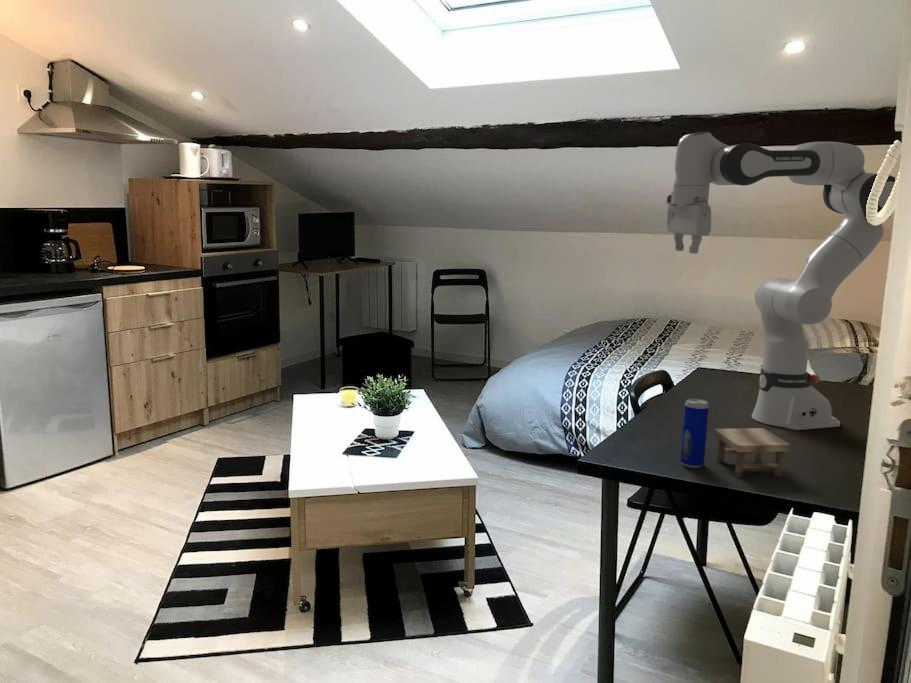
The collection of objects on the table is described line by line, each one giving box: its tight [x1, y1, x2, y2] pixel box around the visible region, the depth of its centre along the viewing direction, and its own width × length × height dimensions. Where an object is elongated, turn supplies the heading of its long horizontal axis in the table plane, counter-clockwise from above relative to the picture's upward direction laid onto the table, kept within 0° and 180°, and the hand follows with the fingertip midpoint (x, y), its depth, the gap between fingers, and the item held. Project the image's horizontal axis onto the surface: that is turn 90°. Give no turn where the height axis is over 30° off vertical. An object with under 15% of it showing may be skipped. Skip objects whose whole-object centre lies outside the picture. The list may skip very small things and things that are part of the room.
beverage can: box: [679, 398, 710, 469], centre depth 168 cm, size 5×5×15 cm
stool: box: [713, 427, 792, 478], centre depth 167 cm, size 12×12×8 cm
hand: (686, 252), depth 191 cm, fingers open, 8 cm apart
